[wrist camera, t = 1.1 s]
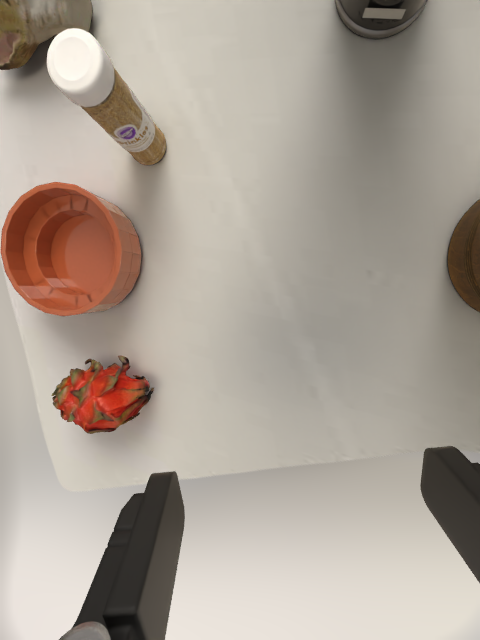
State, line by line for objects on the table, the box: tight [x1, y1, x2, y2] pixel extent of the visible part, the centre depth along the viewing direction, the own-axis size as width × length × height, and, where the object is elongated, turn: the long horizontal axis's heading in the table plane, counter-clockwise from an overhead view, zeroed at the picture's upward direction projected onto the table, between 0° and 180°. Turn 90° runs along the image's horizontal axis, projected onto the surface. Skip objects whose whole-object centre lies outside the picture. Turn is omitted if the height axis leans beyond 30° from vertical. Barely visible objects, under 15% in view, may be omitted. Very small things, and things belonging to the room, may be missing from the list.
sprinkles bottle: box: [47, 28, 166, 165], centre depth 28 cm, size 5×5×14 cm
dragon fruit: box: [52, 356, 154, 434], centre depth 35 cm, size 8×8×12 cm
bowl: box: [1, 182, 141, 316], centre depth 34 cm, size 14×14×6 cm
